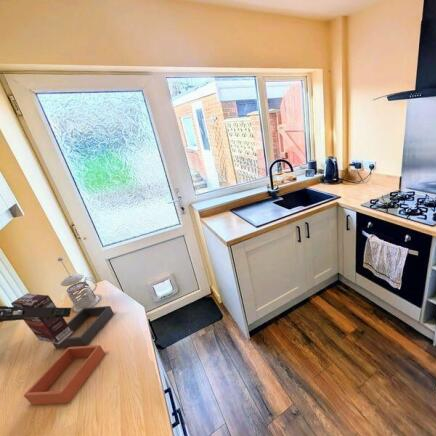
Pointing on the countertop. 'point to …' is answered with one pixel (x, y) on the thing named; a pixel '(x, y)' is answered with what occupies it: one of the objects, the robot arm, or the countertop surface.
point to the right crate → (92, 330)
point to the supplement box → (44, 319)
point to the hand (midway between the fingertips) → (54, 313)
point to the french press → (86, 299)
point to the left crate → (43, 383)
